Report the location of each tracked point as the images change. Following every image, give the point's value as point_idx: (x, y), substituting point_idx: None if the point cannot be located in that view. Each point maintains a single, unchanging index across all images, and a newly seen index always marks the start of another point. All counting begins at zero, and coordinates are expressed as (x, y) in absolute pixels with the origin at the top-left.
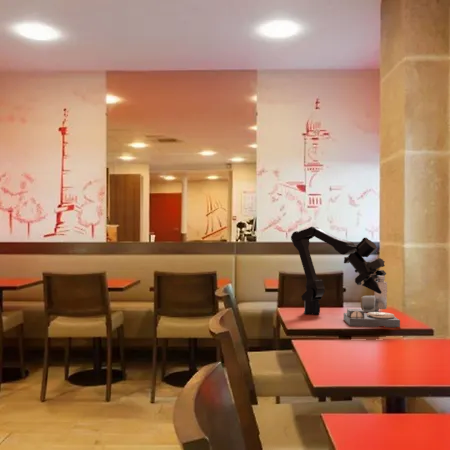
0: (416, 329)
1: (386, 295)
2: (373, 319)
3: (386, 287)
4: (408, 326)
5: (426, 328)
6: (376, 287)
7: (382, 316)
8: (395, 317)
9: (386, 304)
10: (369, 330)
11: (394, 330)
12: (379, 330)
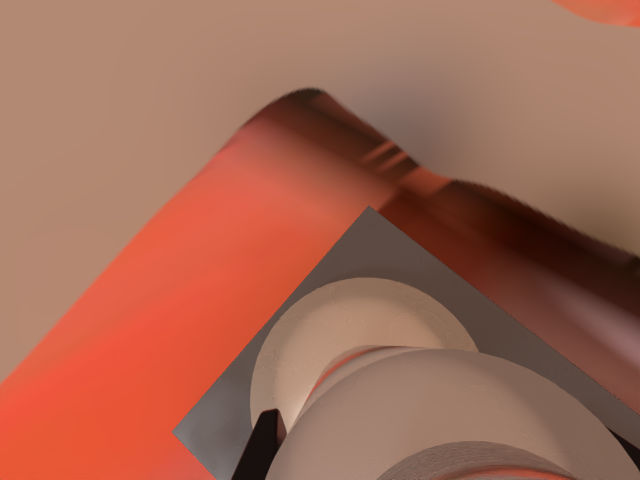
0: (324, 138)
1: (363, 349)
2: (535, 335)
3: (383, 350)
4: (277, 219)
5: (243, 127)
6: (635, 464)
7: (448, 312)
8: (295, 295)
9: (349, 350)
10: (632, 267)
11: (474, 185)
12: (566, 233)
